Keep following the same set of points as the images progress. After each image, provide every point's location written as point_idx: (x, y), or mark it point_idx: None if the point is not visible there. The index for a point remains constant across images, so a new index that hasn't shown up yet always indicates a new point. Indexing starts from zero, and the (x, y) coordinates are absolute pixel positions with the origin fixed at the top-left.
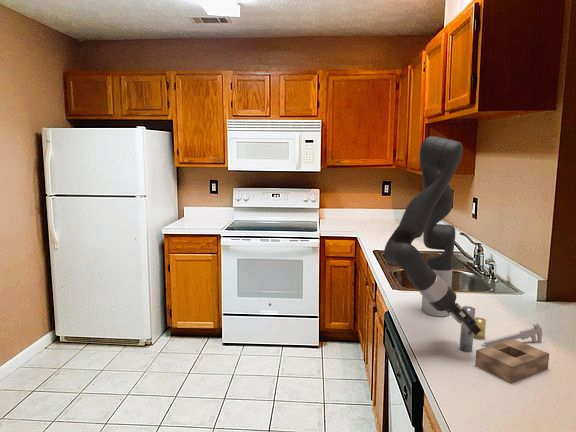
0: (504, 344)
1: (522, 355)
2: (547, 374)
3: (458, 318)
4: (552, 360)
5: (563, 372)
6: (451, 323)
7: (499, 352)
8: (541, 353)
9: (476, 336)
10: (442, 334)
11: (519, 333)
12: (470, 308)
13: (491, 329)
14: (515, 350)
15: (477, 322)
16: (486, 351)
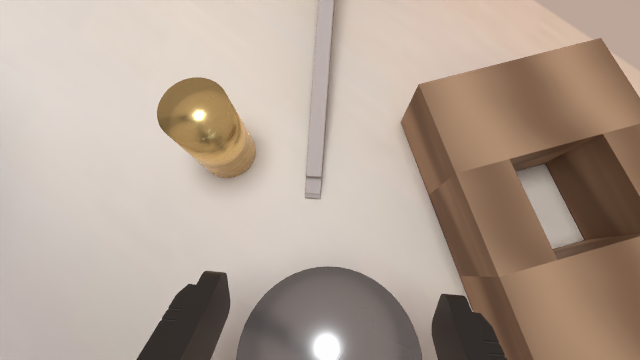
0: (486, 172)
1: (628, 173)
2: None
3: (211, 336)
4: (482, 23)
5: None
6: (52, 177)
7: (591, 275)
8: (602, 70)
9: (238, 169)
10: (139, 311)
11: (327, 2)
12: (339, 338)
13: (181, 51)
14: (535, 154)
15: (211, 140)
16: (575, 349)
